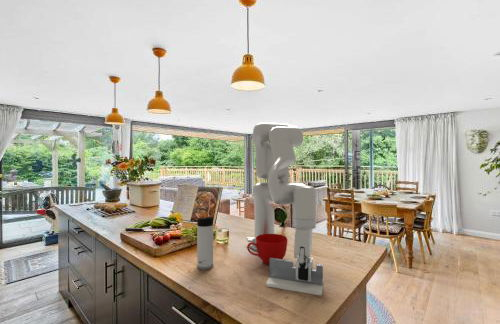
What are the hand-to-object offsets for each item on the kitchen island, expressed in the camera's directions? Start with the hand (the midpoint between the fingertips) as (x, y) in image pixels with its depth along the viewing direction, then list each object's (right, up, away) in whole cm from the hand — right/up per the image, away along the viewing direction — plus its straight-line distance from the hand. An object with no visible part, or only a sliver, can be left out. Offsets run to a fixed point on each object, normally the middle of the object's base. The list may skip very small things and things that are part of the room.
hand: (304, 275), depth 86 cm
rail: (-3, -3, +1) cm, 4 cm away
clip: (0, -1, 0) cm, 1 cm away
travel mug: (-36, -3, +15) cm, 39 cm away
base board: (-3, -3, +1) cm, 4 cm away
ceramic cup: (-11, -3, +19) cm, 22 cm away
